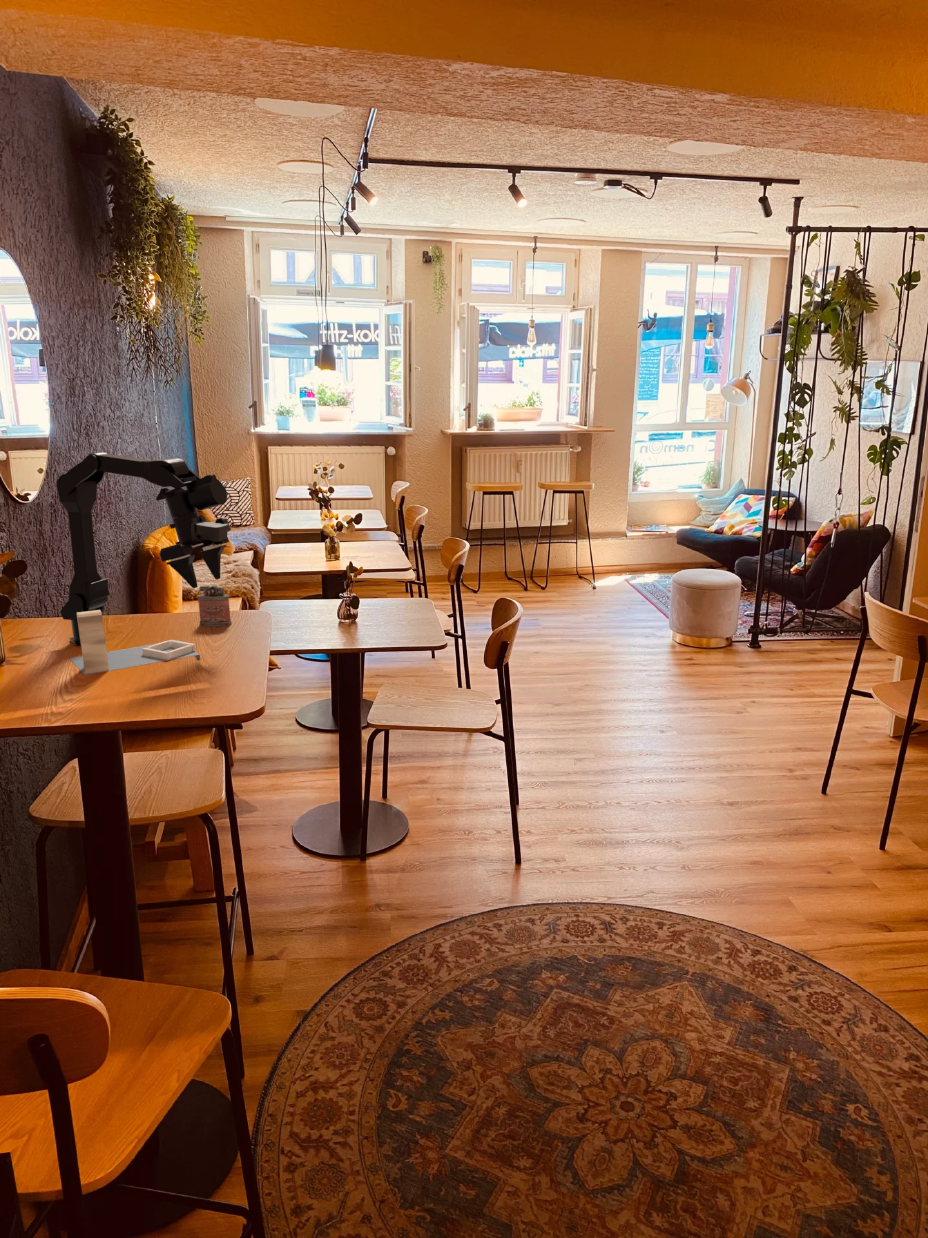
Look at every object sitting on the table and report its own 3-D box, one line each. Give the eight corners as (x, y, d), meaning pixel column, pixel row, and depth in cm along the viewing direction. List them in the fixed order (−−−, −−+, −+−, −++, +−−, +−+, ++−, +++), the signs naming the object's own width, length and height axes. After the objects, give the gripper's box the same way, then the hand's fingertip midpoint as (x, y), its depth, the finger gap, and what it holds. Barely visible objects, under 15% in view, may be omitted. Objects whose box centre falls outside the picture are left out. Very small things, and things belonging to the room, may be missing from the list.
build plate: (70, 662, 198) (69, 658, 197) (179, 643, 211) (178, 639, 210) (85, 679, 186) (84, 675, 185) (200, 658, 199) (199, 654, 198)
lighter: (233, 622, 229) (230, 584, 226) (228, 626, 226) (225, 587, 223) (202, 622, 230) (199, 584, 227) (197, 625, 226) (194, 586, 224)
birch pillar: (83, 667, 190) (76, 612, 187) (107, 664, 192) (100, 609, 189) (85, 673, 186) (78, 617, 183) (109, 670, 188) (102, 614, 185)
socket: (142, 655, 199) (141, 648, 198) (171, 646, 205) (170, 639, 205) (167, 660, 195) (167, 653, 194) (195, 650, 201) (195, 644, 201)
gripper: (190, 512, 187) (214, 584, 190) (237, 501, 204) (258, 567, 207) (147, 525, 191) (171, 595, 194) (197, 512, 208) (218, 577, 211)
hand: (206, 583), depth 201 cm, fingers open, 9 cm apart
